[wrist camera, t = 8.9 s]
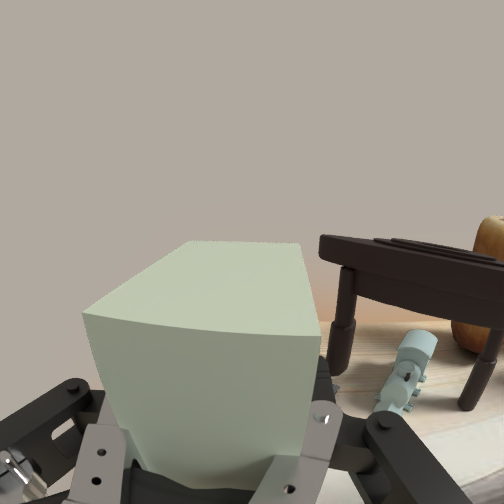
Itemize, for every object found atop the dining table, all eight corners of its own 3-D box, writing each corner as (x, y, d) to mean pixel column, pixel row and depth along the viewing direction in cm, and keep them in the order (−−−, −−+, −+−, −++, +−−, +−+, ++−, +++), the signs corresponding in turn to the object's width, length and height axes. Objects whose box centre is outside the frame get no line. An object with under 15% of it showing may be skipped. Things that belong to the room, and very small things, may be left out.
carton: (281, 443, 14) (299, 243, 11) (274, 542, 7) (321, 335, 4) (206, 436, 14) (185, 240, 11) (175, 528, 7) (74, 311, 5)
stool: (571, 293, 11) (285, 235, 33) (487, 457, 16) (279, 378, 38) (539, 258, 21) (344, 223, 44) (496, 387, 26) (333, 337, 49)
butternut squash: (471, 375, 31) (511, 221, 25) (433, 338, 44) (456, 208, 38) (512, 357, 32) (546, 226, 26) (476, 328, 45) (498, 214, 39)
